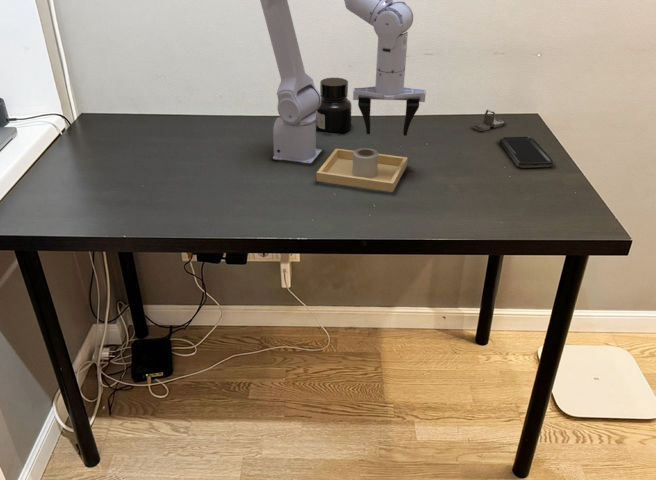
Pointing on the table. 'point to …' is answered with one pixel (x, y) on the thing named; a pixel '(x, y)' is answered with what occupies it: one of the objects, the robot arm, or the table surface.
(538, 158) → the phone
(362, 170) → the tape roll
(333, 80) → the ink bottle
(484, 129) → the strap clip
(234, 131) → the table surface
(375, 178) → the tray
